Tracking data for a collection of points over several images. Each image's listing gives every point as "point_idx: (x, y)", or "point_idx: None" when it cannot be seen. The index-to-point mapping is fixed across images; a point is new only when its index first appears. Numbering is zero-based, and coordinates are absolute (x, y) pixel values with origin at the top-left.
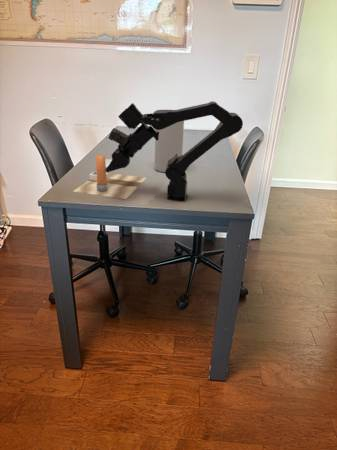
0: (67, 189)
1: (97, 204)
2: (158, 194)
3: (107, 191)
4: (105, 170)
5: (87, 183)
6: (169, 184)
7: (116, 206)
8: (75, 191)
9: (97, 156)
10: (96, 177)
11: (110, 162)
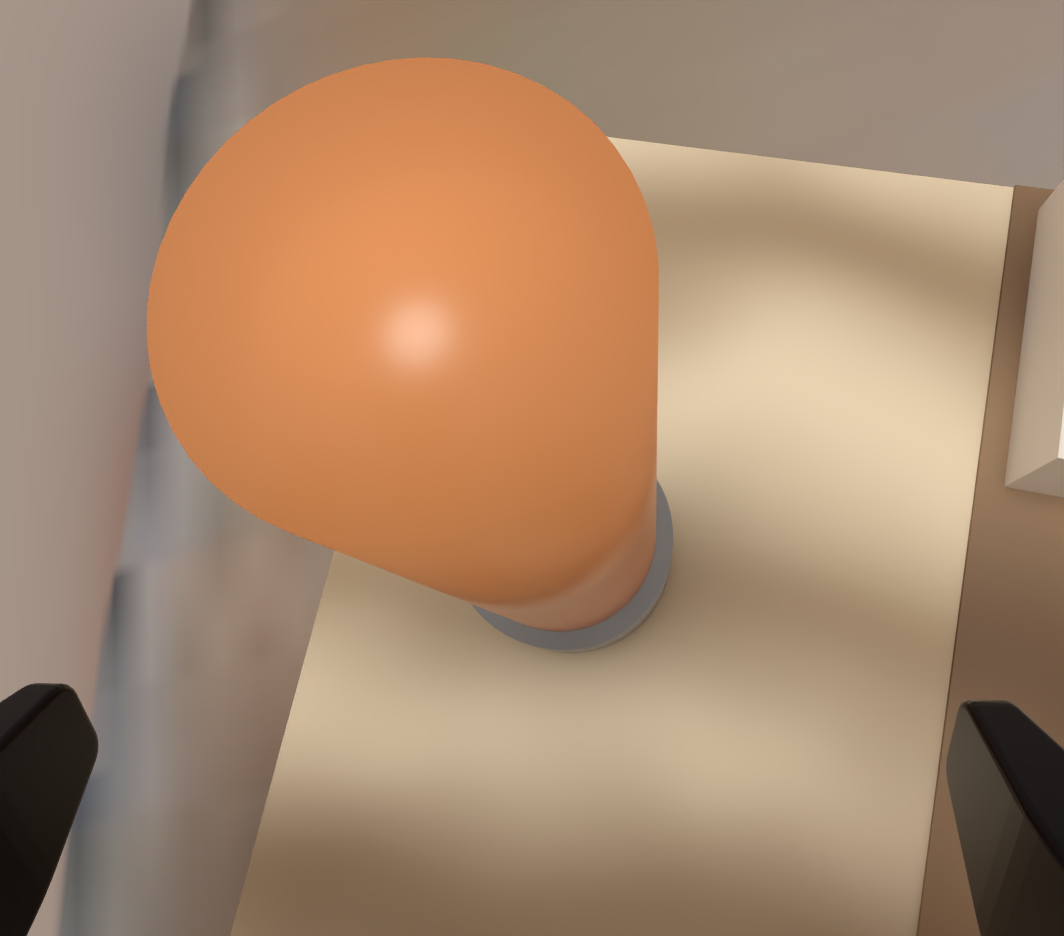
0: (680, 4)
1: (151, 581)
2: None
3: (510, 664)
4: (29, 693)
5: (857, 218)
6: None
7: (79, 896)
8: None
9: (335, 161)
10: (1051, 314)
11: (964, 710)
